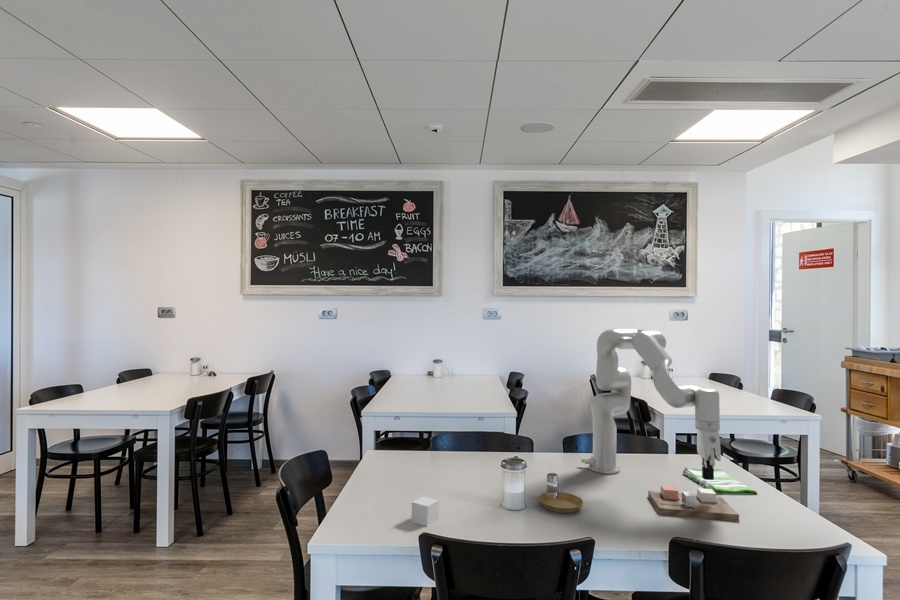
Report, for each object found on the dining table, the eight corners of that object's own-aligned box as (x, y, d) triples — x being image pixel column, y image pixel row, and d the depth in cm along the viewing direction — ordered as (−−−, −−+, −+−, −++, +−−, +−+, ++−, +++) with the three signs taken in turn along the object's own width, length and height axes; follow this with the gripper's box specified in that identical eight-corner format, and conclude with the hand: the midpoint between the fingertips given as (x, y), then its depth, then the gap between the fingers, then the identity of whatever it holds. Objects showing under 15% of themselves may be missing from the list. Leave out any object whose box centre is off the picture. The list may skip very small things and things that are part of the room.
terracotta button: (664, 498, 170) (664, 489, 170) (660, 493, 174) (660, 485, 174) (678, 499, 169) (678, 490, 169) (674, 494, 173) (674, 486, 173)
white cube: (427, 526, 149) (427, 506, 149) (411, 521, 152) (411, 502, 152) (438, 519, 154) (438, 500, 154) (422, 515, 157) (422, 496, 157)
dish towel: (722, 475, 204) (722, 466, 204) (759, 496, 181) (759, 486, 181) (681, 475, 203) (681, 466, 203) (713, 495, 180) (713, 486, 180)
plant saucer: (529, 502, 170) (530, 494, 170) (565, 496, 176) (565, 489, 176) (555, 519, 156) (555, 510, 156) (592, 512, 162) (592, 504, 162)
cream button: (701, 501, 168) (701, 492, 168) (697, 496, 172) (697, 488, 172) (716, 502, 167) (716, 493, 167) (711, 497, 171) (711, 489, 171)
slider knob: (685, 506, 162) (685, 495, 162) (681, 501, 166) (681, 491, 166) (695, 507, 161) (695, 496, 161) (691, 502, 165) (691, 491, 165)
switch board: (659, 514, 161) (659, 507, 161) (648, 496, 177) (648, 490, 177) (738, 521, 157) (739, 514, 157) (720, 502, 173) (720, 496, 173)
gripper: (727, 430, 162) (728, 486, 161) (711, 421, 177) (712, 473, 176) (702, 429, 163) (703, 485, 162) (689, 420, 178) (689, 471, 177)
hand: (707, 478), depth 169 cm, fingers closed
